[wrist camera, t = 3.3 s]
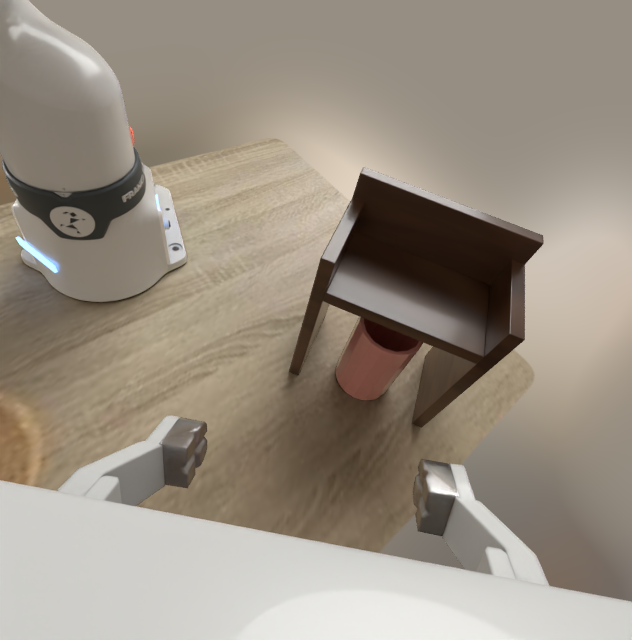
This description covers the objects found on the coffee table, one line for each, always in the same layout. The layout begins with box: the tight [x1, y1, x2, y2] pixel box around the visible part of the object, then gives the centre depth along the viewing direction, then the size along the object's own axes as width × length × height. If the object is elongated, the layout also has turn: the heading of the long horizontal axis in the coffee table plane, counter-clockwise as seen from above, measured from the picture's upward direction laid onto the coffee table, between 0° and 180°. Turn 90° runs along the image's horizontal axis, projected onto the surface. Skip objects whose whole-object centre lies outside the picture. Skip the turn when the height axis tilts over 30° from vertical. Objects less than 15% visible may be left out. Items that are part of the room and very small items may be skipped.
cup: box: [336, 316, 423, 400], centre depth 41 cm, size 7×7×10 cm
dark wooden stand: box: [289, 167, 543, 428], centre depth 38 cm, size 10×16×21 cm, turn 70°
